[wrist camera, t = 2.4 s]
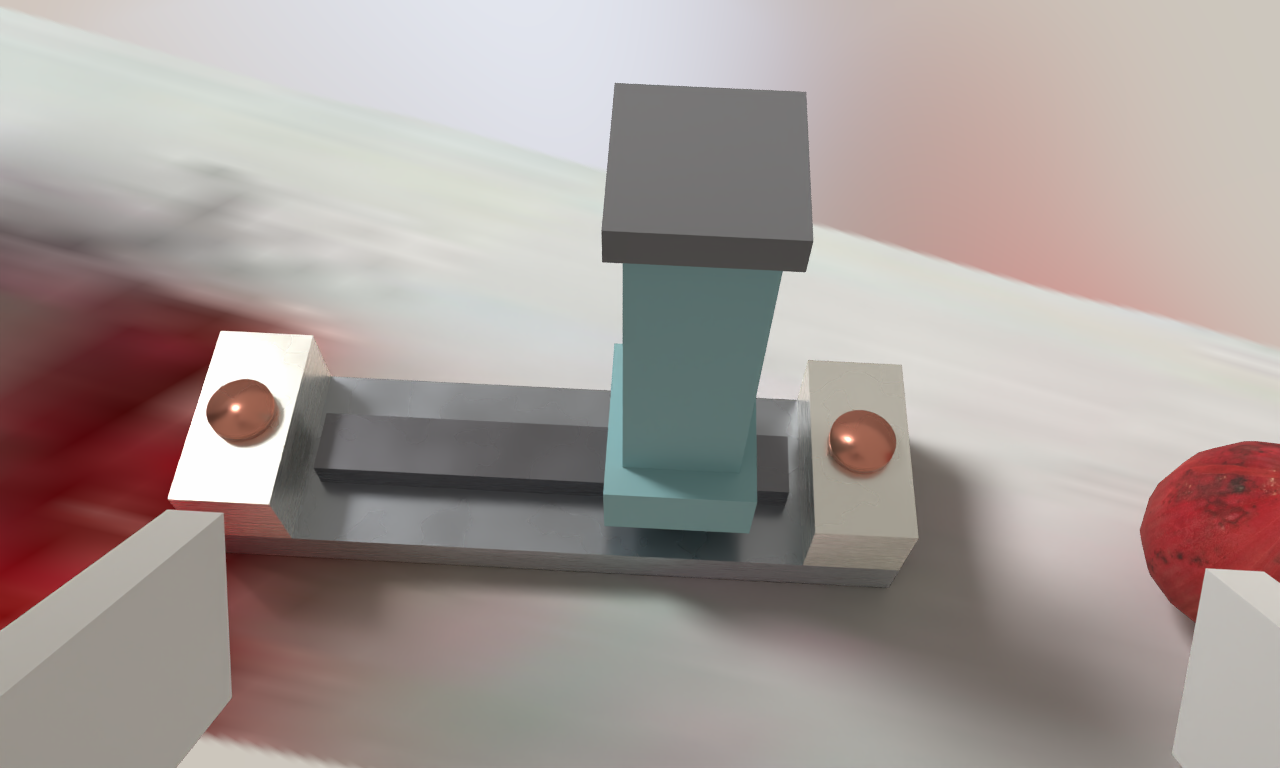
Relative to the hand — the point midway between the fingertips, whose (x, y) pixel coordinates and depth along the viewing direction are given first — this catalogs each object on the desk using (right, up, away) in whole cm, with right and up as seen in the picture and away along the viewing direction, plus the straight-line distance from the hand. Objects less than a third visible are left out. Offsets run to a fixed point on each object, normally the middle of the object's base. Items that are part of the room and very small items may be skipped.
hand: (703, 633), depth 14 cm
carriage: (0, +1, +19) cm, 19 cm away
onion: (+17, -3, +20) cm, 27 cm away
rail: (-4, 0, +21) cm, 22 cm away
